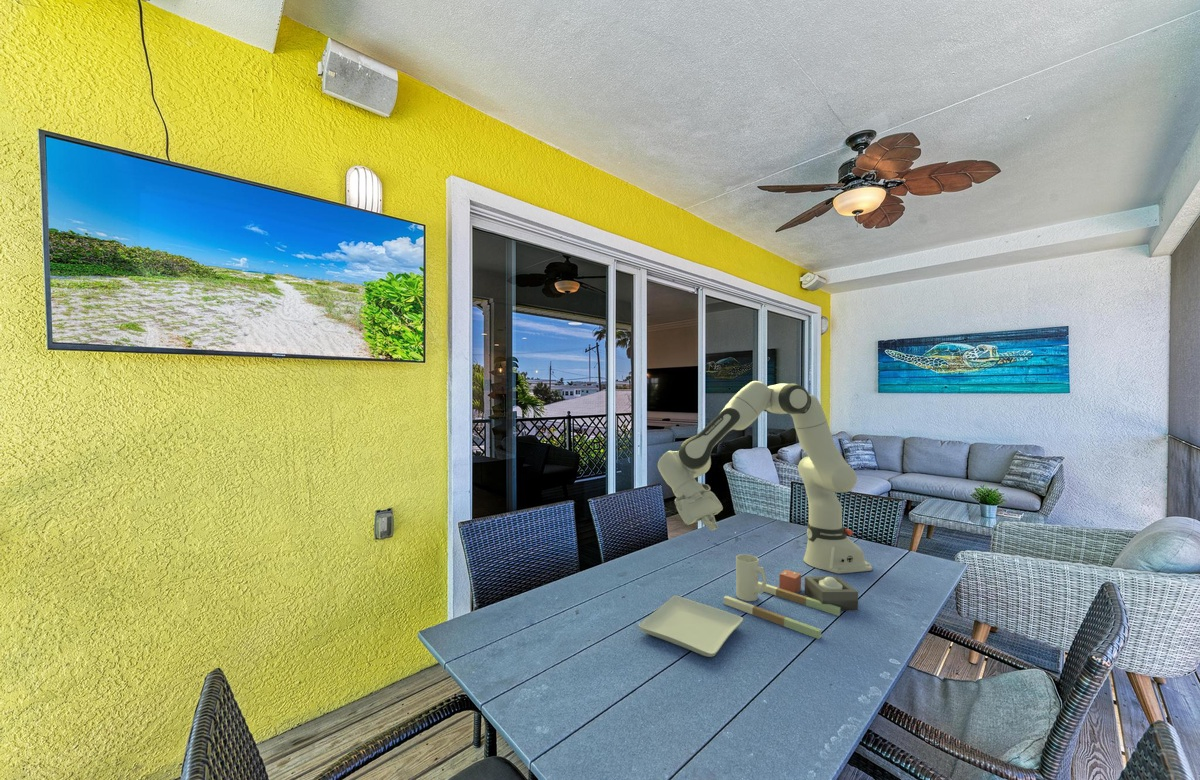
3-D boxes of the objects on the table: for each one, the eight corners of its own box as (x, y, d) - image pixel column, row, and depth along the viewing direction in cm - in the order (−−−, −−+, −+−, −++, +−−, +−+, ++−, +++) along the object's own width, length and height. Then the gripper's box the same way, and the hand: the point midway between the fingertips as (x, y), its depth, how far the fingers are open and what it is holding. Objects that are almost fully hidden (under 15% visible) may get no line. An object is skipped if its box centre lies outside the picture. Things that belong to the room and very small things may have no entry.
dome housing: (837, 593, 142) (838, 576, 142) (857, 610, 131) (858, 591, 131) (804, 594, 141) (804, 576, 141) (822, 610, 131) (822, 591, 131)
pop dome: (835, 587, 140) (835, 572, 140) (846, 596, 133) (847, 581, 133) (814, 587, 139) (814, 572, 139) (825, 596, 133) (825, 581, 133)
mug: (730, 595, 140) (731, 557, 140) (744, 589, 144) (744, 552, 144) (758, 608, 132) (759, 567, 132) (772, 602, 136) (772, 562, 136)
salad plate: (714, 668, 104) (714, 653, 104) (636, 637, 117) (636, 624, 117) (745, 629, 121) (745, 616, 121) (674, 605, 134) (674, 594, 134)
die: (779, 589, 145) (779, 572, 144) (785, 584, 148) (785, 568, 148) (795, 594, 141) (795, 577, 141) (801, 589, 145) (801, 572, 145)
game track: (723, 603, 135) (723, 597, 135) (750, 585, 148) (750, 579, 148) (819, 639, 116) (819, 631, 116) (840, 614, 129) (840, 607, 129)
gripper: (678, 493, 144) (704, 530, 137) (710, 484, 159) (736, 517, 152) (666, 504, 147) (691, 541, 141) (699, 494, 162) (723, 527, 155)
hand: (715, 529), depth 146 cm, fingers closed
